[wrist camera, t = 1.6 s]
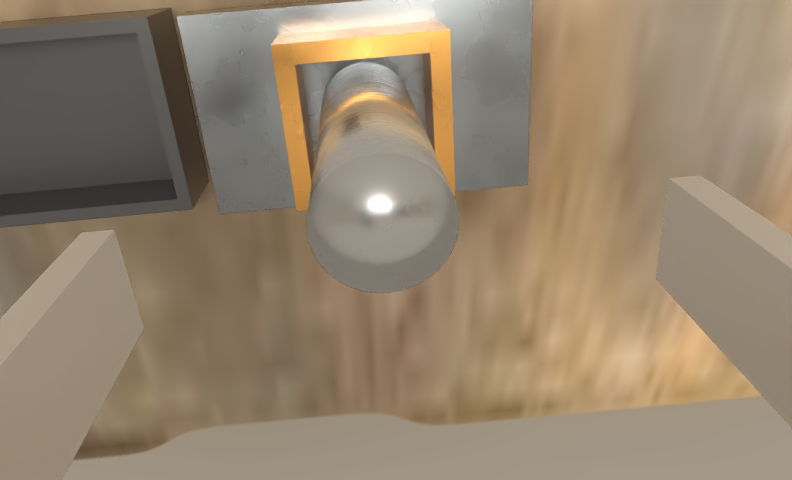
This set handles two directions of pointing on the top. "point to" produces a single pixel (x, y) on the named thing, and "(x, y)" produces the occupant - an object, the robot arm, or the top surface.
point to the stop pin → (377, 186)
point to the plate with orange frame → (338, 48)
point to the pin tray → (95, 119)
